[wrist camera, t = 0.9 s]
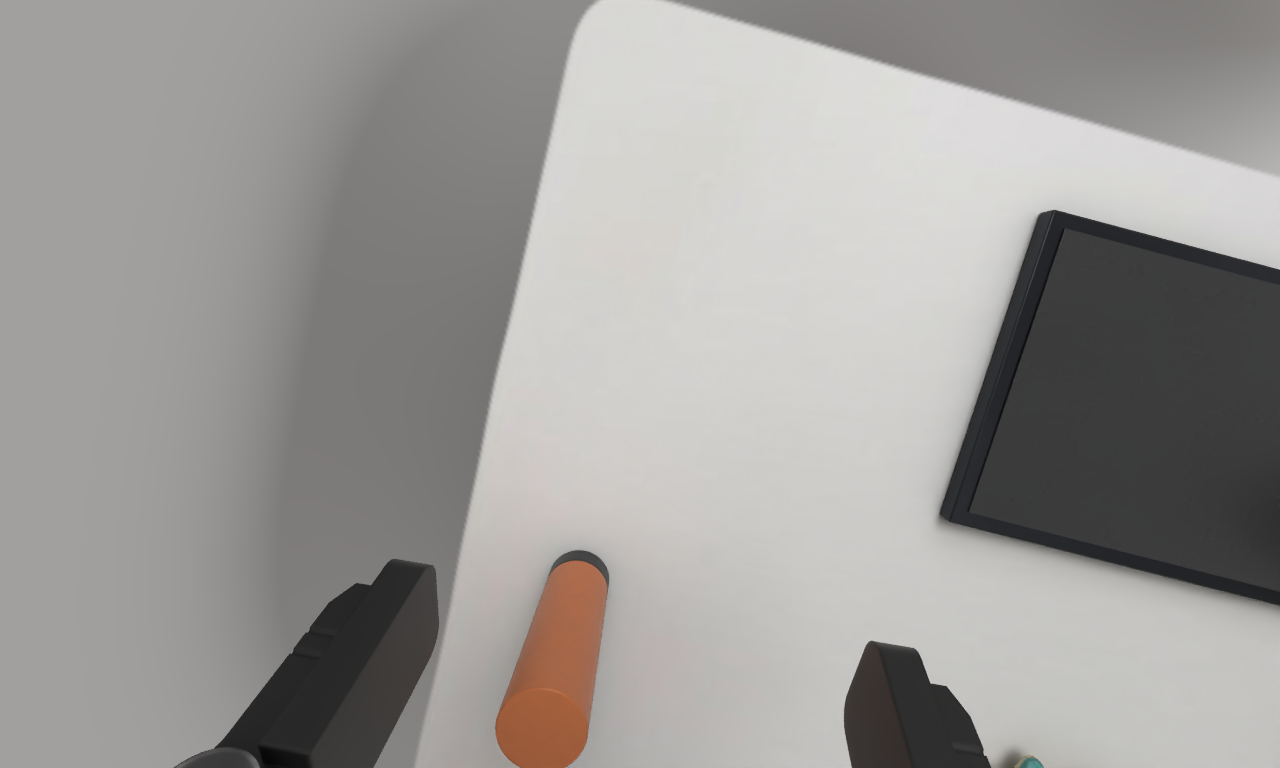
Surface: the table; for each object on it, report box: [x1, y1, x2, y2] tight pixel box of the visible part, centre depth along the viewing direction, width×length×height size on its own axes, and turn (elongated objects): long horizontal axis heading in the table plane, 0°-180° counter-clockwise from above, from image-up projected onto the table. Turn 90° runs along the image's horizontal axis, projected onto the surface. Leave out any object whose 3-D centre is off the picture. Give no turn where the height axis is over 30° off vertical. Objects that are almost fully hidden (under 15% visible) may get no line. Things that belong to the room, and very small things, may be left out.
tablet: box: [940, 210, 1280, 606], centre depth 28 cm, size 15×19×1 cm
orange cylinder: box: [495, 551, 609, 768], centre depth 25 cm, size 3×3×11 cm
